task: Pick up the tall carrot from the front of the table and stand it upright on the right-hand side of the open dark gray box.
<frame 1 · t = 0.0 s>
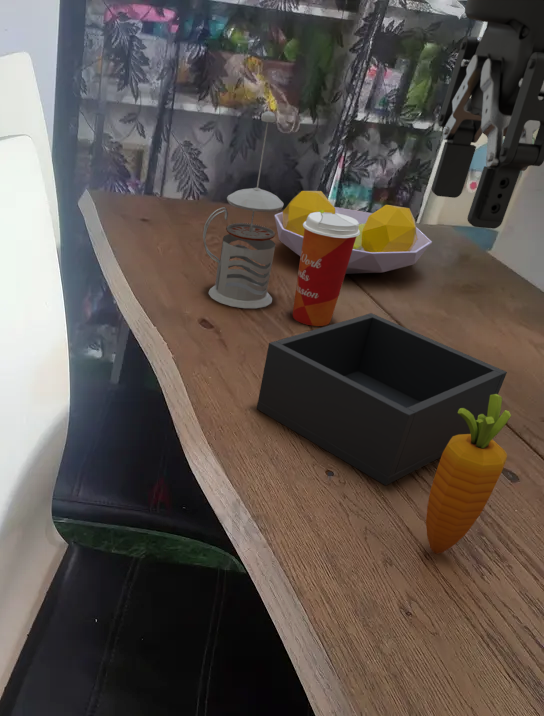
hand: (462, 210, 54), 27 cm above the table, tool pointing down, fingers open, 8 cm apart
carrot: (434, 554, 65), on the table
paper cup: (311, 319, 107), on the table
french press: (234, 296, 112), on the table
fruit bowl: (339, 263, 130), on the table
open dark gray box: (368, 422, 83), on the table
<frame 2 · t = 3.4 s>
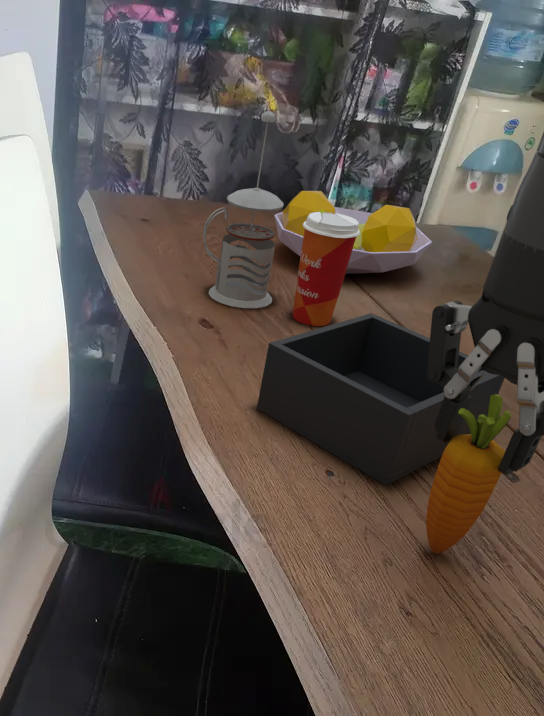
hand: (475, 453, 59), 10 cm above the table, tool pointing down, fingers closed on carrot, 5 cm apart
carrot: (434, 554, 65), on the table, touching gripper
everything else where it was.
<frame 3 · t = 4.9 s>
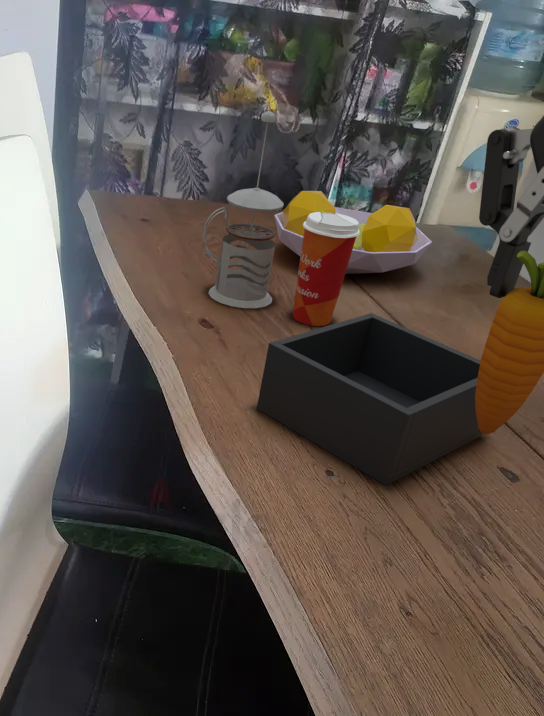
hand: (535, 306, 52), 22 cm above the table, tool pointing down, fingers closed on carrot, 5 cm apart
carrot: (483, 436, 58), point 12 cm above the table, touching gripper
everything else where it was.
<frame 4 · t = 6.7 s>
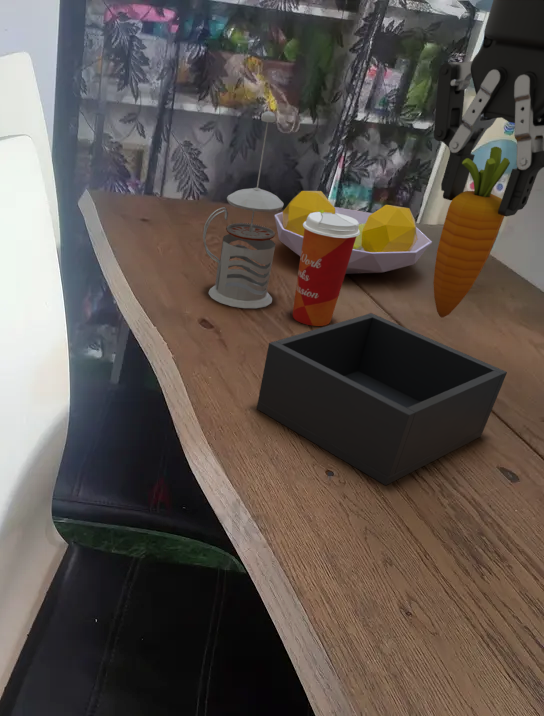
hand: (478, 205, 65), 25 cm above the table, tool pointing down, fingers closed on carrot, 5 cm apart
carrot: (441, 319, 72), point 14 cm above the table, touching gripper
everything else where it was.
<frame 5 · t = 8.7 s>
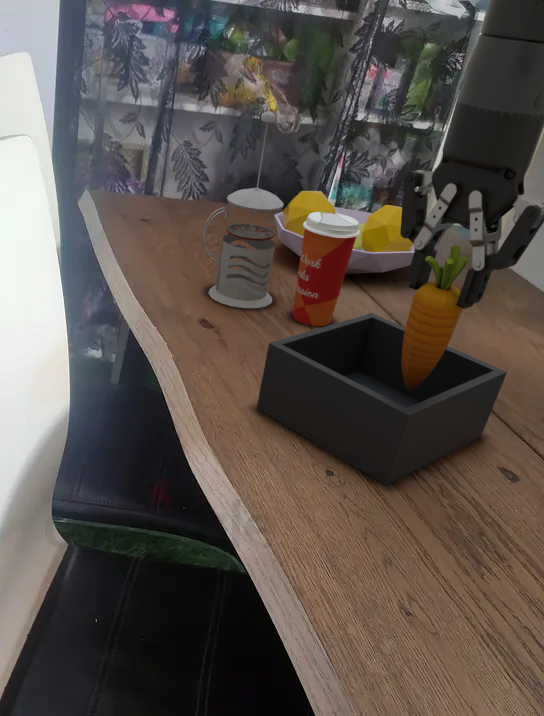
hand: (440, 296, 73), 16 cm above the table, tool pointing down, fingers closed on carrot, 5 cm apart
carrot: (409, 392, 79), point 5 cm above the table, touching gripper
everything else where it was.
when the fingers open (11 cm above the table, at t = 10.2 s): carrot stays where it is, resting on open dark gray box.
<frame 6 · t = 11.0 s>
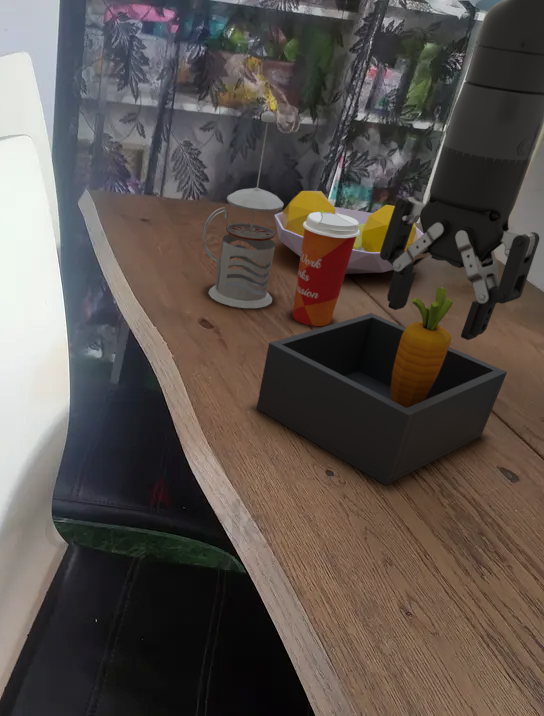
hand: (431, 322, 74), 13 cm above the table, tool pointing down, fingers open, 8 cm apart
carrot: (398, 425, 81), point 1 cm above the table, touching open dark gray box
everything else where it was.
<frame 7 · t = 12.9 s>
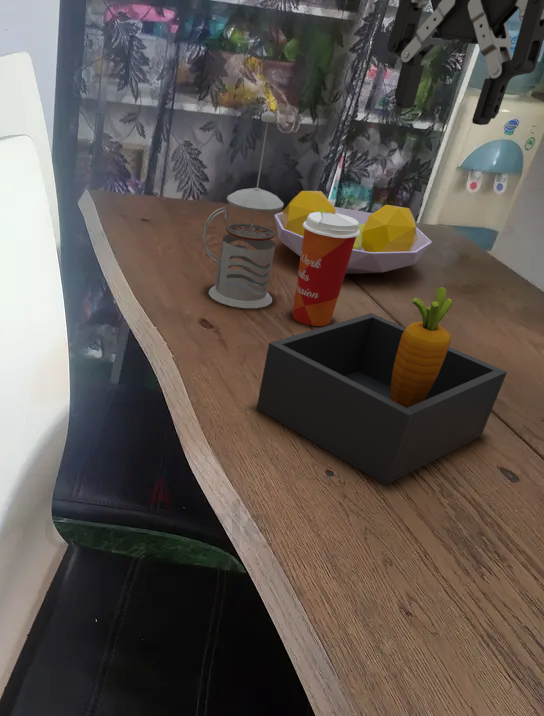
hand: (440, 115, 72), 30 cm above the table, tool pointing down, fingers open, 8 cm apart
nothing on the table moved.
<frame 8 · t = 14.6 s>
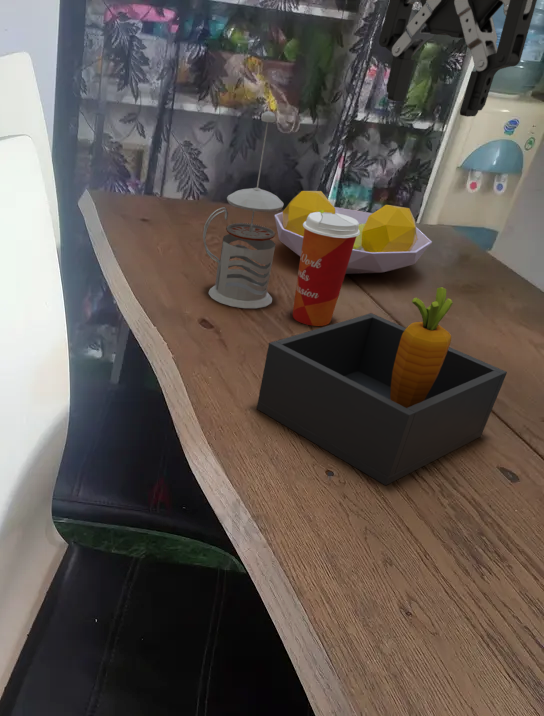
hand: (430, 107, 74), 30 cm above the table, tool pointing down, fingers open, 8 cm apart
nothing on the table moved.
at the end: carrot inside the target area in the open dark gray box (1.5 cm from its centre), point 0.8 cm above the open dark gray box's base; carrot tilted 0°; the gripper is holding nothing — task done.
